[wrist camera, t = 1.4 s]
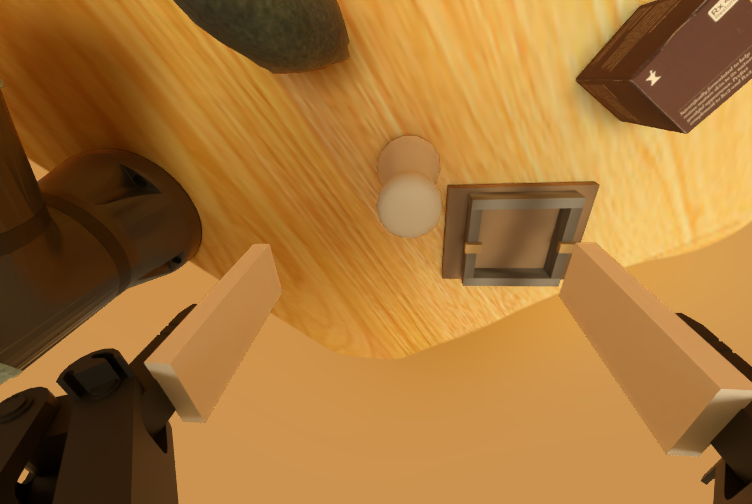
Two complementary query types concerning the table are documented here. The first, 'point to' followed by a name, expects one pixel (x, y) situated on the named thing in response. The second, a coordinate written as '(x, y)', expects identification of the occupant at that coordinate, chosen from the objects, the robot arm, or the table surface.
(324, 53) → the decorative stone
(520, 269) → the base
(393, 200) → the salt shaker
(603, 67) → the box
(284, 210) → the table surface
